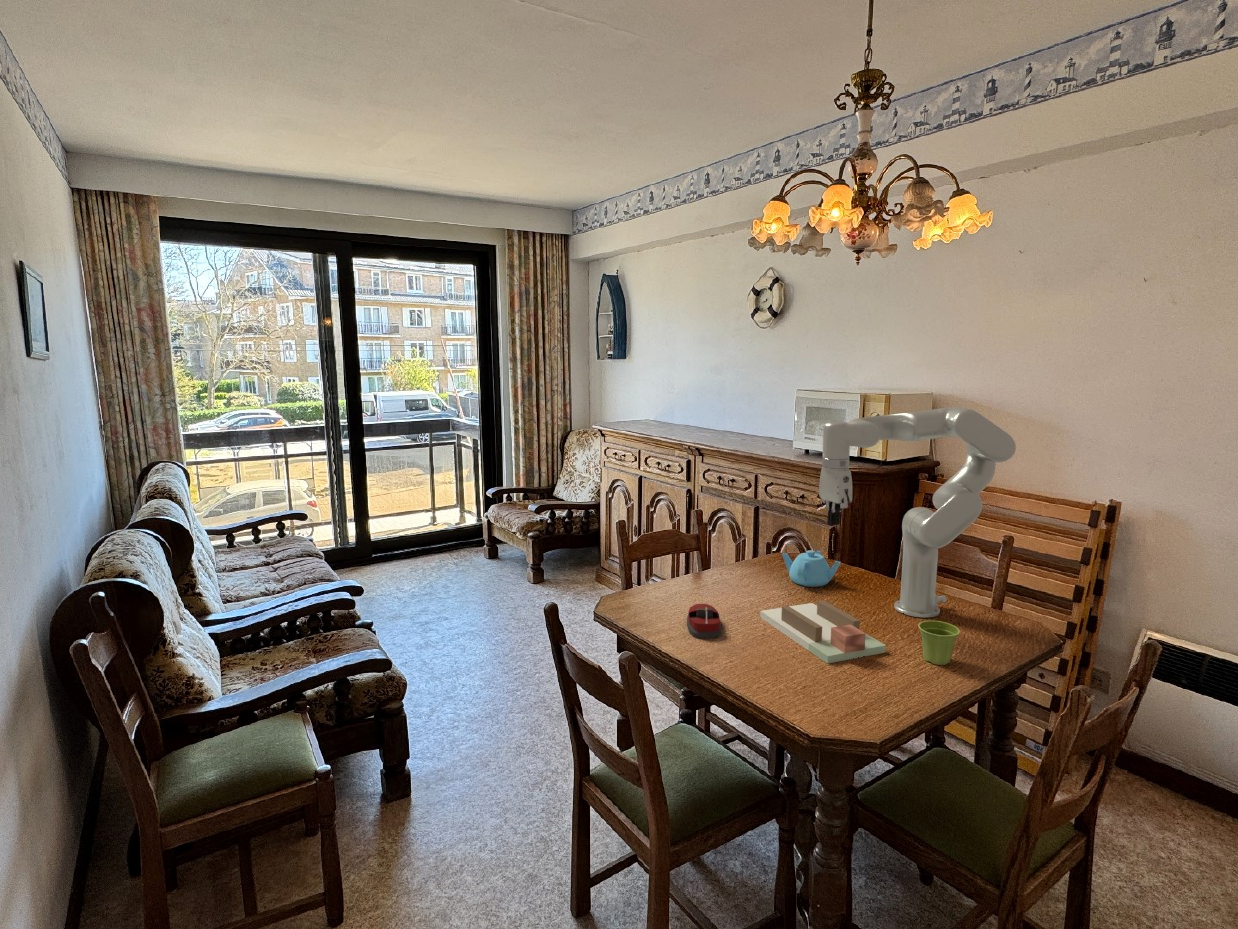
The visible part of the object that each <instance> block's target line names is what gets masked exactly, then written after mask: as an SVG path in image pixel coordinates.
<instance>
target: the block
mask: <svg viewBox="0 0 1238 929" xmlns="http://www.w3.org/2000/svg"><path fill="white" fill-rule="evenodd" d="M865 634H867V633H866V632H864V631H862V630H861V629H860V628H859V629H857V628H856V627H854V626H852V625H844V626H838V627H831V643H830V644H832V645H833V646H835V647H836V648H838V649H839V650H841V651H842V652H843V653H850V652H856V651H862V650H865Z"/></svg>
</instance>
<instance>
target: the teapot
mask: <svg viewBox="0 0 1238 929" xmlns="http://www.w3.org/2000/svg"><path fill="white" fill-rule="evenodd" d="M821 553H822V551H821V550H806V552H801V553H799V554H798V555H797V556H796V557H795V559H794V560H792V559H791V557H790V555H789V554H788V553H786V552H785V553H784V552H783V553H781V555H782V558H783V561H784V564H785V566H786V569H787V572H788V573H789V574H788V575H789V577H790V579H791V581H792V582H794V583H795V584H797V585H798V586H799V585H800V586H802V587H803V586H804V587H809V588H810V587H811V588H813V587H814V588H817V587H823V586H825V585H827V584H828V583H830V581H831V580H832V579H833V578H834V577H835V575H836V573H837V571H838V569H839V567H840V565H841V562H842V561H838V560H835V561H834V563H833V564H832V566H831V567H830V565H829V564H828V561H827V560H826V558H825V557H824V556H823V555H822V554H821Z"/></svg>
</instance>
